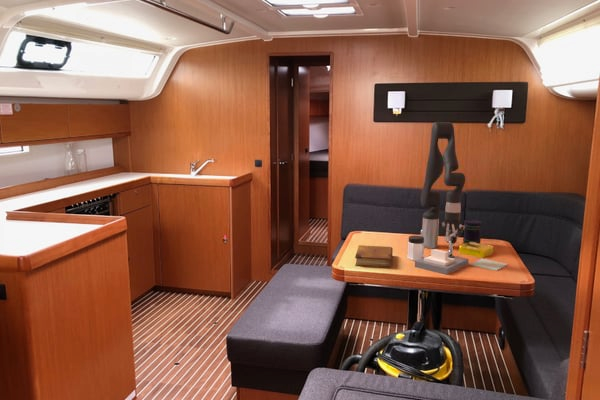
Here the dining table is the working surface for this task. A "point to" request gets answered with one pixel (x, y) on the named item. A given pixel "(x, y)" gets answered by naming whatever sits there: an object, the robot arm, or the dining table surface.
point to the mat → (488, 264)
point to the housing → (440, 268)
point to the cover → (439, 257)
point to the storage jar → (472, 231)
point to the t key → (450, 243)
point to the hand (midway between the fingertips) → (451, 242)
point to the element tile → (476, 249)
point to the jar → (415, 248)
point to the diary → (374, 256)
